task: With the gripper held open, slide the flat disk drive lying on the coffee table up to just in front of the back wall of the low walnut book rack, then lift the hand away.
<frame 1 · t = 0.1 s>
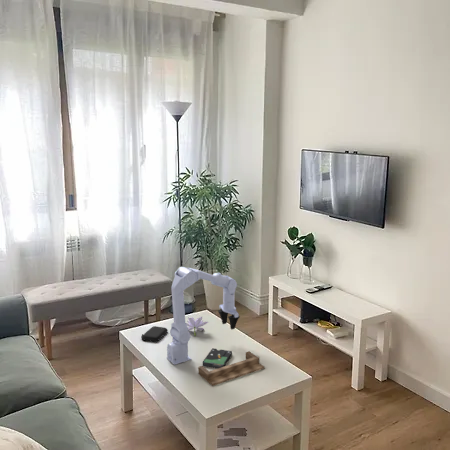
hand: (228, 326, 236), 10 cm above the table, tool pointing down, fingers open, 7 cm apart
book rack: (233, 372, 210), on the table
water lily: (196, 332, 252), on the table
disk drive: (217, 361, 221), on the table
carrying case or bag: (154, 336, 247), on the table
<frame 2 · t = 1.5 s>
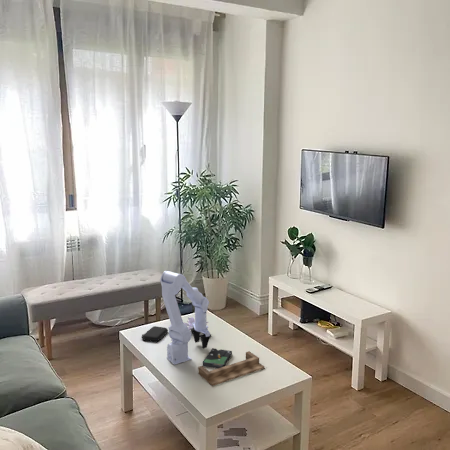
hand: (200, 344, 234), 1 cm above the table, tool pointing down, fingers open, 7 cm apart
nothing on the table moved.
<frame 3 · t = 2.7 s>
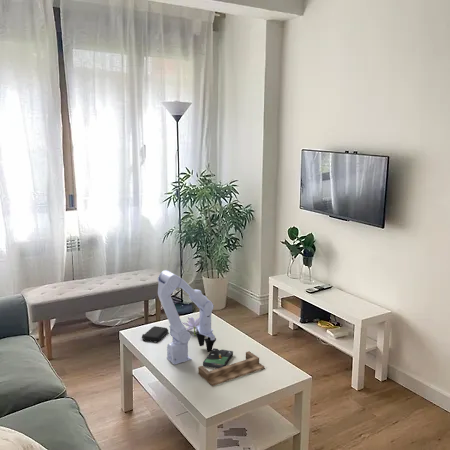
hand: (205, 348, 230), 1 cm above the table, tool pointing down, fingers open, 7 cm apart
disk drive: (218, 361, 221), on the table, touching gripper
everything else where it was.
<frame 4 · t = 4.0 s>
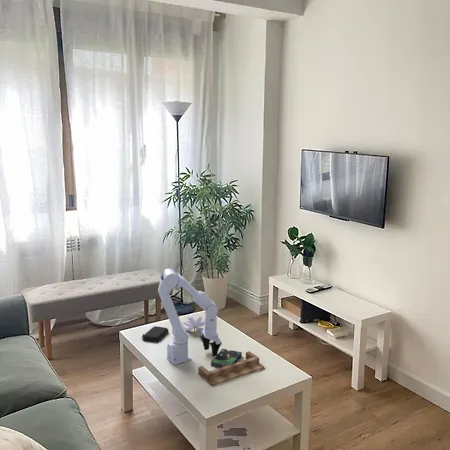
hand: (210, 352, 226), 1 cm above the table, tool pointing down, fingers open, 7 cm apart
disk drive: (226, 362, 221), on the table
everything else where it was.
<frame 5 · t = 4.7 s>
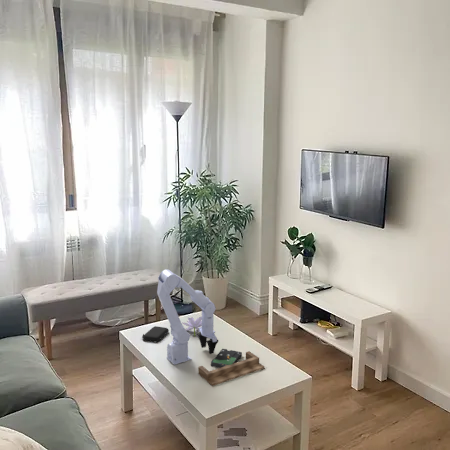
hand: (207, 350, 228), 1 cm above the table, tool pointing down, fingers open, 7 cm apart
nothing on the table moved.
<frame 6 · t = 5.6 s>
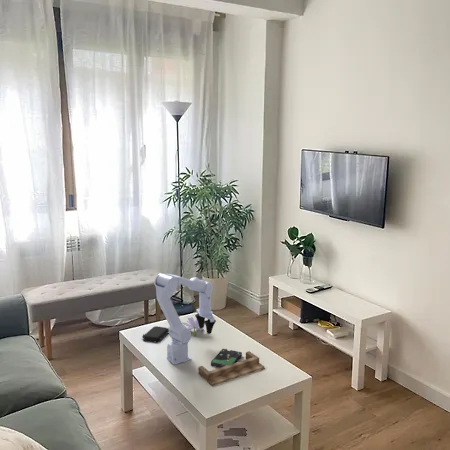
hand: (205, 330, 233), 9 cm above the table, tool pointing down, fingers open, 7 cm apart
nothing on the table moved.
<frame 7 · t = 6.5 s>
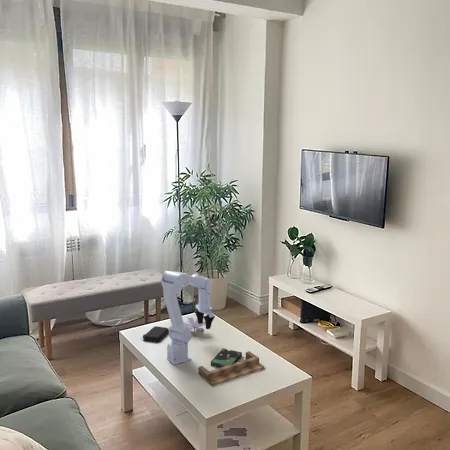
hand: (204, 326, 237), 9 cm above the table, tool pointing down, fingers open, 7 cm apart
nothing on the table moved.
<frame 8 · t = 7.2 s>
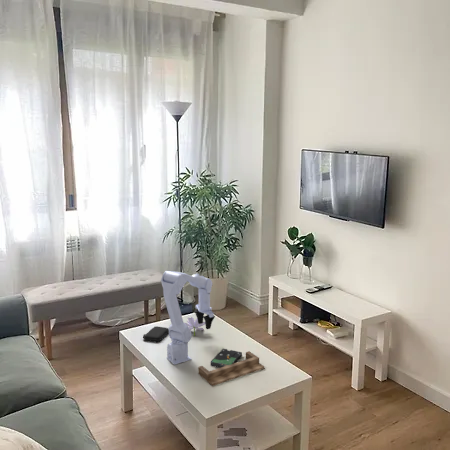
hand: (204, 326, 237), 9 cm above the table, tool pointing down, fingers open, 7 cm apart
nothing on the table moved.
at the end: disk drive inside the target area (3.9 cm from its centre), on the table; disk drive moved 4.3 cm from its start; disk drive tilted 0° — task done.
